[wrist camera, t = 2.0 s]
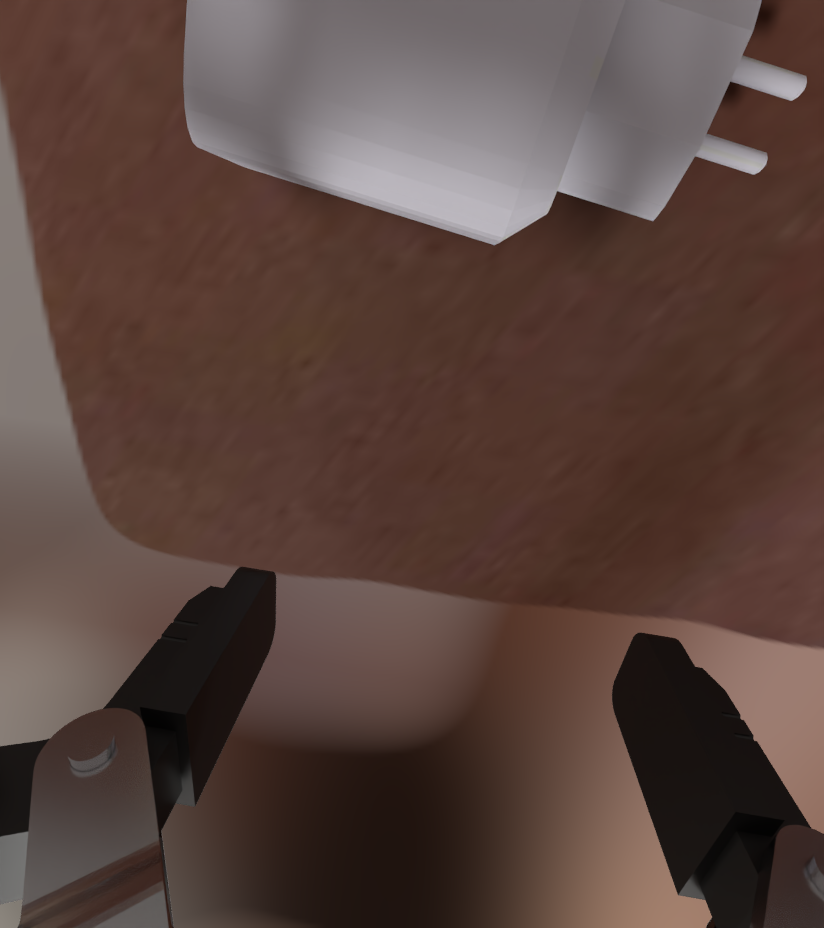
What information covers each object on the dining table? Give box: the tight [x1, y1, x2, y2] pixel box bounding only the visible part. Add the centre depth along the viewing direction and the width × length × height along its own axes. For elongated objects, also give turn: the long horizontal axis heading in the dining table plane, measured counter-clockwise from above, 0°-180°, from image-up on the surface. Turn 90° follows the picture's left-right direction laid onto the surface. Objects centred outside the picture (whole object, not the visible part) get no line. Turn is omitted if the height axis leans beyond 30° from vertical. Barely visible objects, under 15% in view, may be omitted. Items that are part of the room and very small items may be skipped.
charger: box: [183, 0, 807, 245], centre depth 12 cm, size 5×9×15 cm
